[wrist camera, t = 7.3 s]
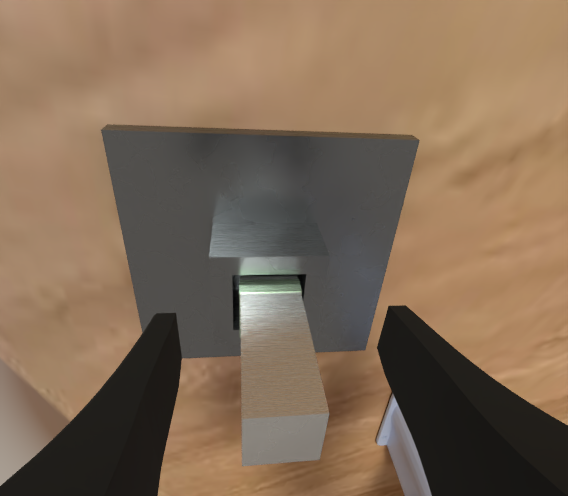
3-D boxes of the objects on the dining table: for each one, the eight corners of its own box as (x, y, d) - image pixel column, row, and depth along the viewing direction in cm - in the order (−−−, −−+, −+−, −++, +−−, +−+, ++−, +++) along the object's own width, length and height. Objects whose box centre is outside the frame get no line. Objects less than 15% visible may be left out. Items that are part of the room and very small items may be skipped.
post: (293, 317, 21) (320, 460, 14) (239, 319, 20) (240, 467, 14) (297, 274, 19) (331, 412, 12) (239, 275, 19) (240, 418, 12)
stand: (361, 340, 28) (380, 389, 25) (150, 349, 26) (136, 403, 23) (411, 135, 20) (452, 161, 16) (107, 124, 18) (72, 152, 14)
